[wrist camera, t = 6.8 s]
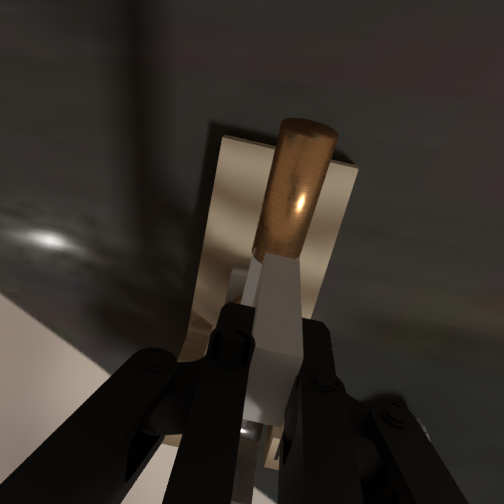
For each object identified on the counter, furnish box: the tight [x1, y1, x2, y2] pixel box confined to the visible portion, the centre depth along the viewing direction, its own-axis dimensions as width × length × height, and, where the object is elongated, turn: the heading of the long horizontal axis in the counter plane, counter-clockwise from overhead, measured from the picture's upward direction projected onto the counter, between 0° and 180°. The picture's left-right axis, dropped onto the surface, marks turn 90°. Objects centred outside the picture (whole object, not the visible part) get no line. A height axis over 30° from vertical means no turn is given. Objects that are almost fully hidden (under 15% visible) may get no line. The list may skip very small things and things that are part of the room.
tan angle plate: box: [162, 135, 358, 470], centre depth 32 cm, size 22×11×13 cm, turn 168°
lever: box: [231, 118, 339, 504], centre depth 28 cm, size 32×6×8 cm, turn 168°
